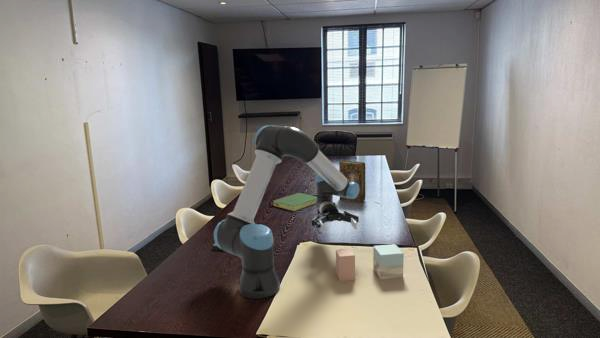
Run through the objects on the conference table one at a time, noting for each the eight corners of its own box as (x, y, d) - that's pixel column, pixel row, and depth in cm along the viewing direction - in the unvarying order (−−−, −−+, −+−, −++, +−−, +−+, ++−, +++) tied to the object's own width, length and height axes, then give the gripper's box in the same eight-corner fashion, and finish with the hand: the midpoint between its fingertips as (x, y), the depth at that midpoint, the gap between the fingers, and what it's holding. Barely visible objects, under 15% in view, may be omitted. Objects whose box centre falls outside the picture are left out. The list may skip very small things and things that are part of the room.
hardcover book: (299, 198, 269) (298, 192, 268) (320, 202, 256) (320, 197, 256) (271, 206, 251) (271, 201, 250) (293, 212, 238) (293, 206, 238)
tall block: (336, 273, 158) (335, 250, 156) (350, 272, 159) (350, 249, 157) (339, 281, 152) (339, 256, 150) (354, 279, 153) (354, 255, 151)
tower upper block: (373, 257, 161) (373, 245, 160) (395, 255, 162) (395, 244, 161) (380, 267, 152) (380, 255, 151) (403, 265, 153) (403, 253, 152)
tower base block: (373, 269, 161) (373, 257, 160) (394, 267, 163) (394, 256, 162) (380, 279, 153) (380, 267, 152) (403, 277, 154) (403, 265, 153)
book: (338, 199, 260) (338, 162, 255) (342, 197, 265) (341, 160, 260) (361, 203, 252) (361, 164, 247) (365, 200, 256) (365, 162, 251)
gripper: (355, 217, 185) (369, 233, 164) (302, 221, 182) (309, 238, 161) (355, 201, 183) (369, 216, 163) (301, 205, 180) (308, 221, 160)
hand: (339, 227), depth 162 cm, fingers open, 13 cm apart
